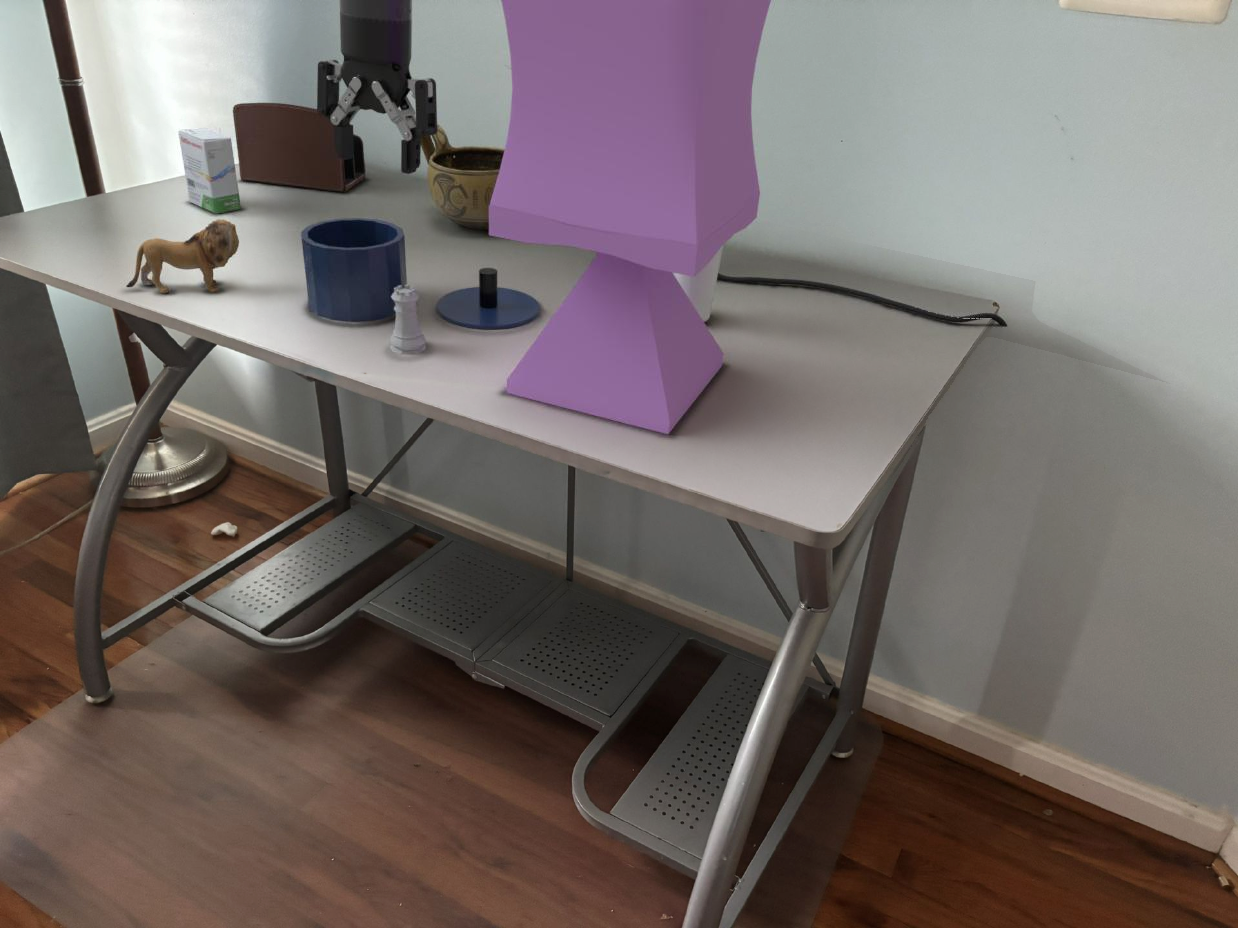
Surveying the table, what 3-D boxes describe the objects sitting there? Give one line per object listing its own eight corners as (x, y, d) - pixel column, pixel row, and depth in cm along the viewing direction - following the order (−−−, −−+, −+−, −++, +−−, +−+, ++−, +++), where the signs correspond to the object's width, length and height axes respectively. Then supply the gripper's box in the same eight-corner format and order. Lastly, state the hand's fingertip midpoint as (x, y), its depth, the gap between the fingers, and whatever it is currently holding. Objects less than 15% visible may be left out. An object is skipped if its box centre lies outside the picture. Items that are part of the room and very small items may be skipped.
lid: (546, 299, 134) (547, 258, 131) (530, 338, 122) (531, 294, 119) (450, 290, 135) (449, 249, 131) (425, 328, 123) (423, 284, 120)
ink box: (242, 209, 159) (232, 136, 153) (214, 215, 156) (203, 140, 150) (216, 197, 164) (205, 126, 158) (188, 202, 160) (176, 129, 154)
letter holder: (345, 193, 170) (338, 110, 163) (239, 181, 172) (228, 99, 165) (366, 179, 179) (361, 100, 171) (266, 168, 181) (256, 89, 174)
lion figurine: (244, 277, 134) (235, 213, 129) (246, 291, 129) (236, 225, 125) (128, 284, 129) (114, 218, 124) (125, 299, 125) (111, 231, 120)
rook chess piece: (418, 361, 115) (415, 298, 110) (383, 355, 115) (379, 292, 111) (432, 346, 118) (429, 284, 114) (398, 341, 119) (394, 280, 115)
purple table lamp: (573, 326, 126) (589, -62, 103) (736, 363, 120) (793, -43, 96) (489, 395, 108) (486, -57, 85) (675, 443, 102) (727, -33, 78)
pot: (418, 294, 133) (415, 223, 127) (391, 329, 122) (387, 253, 117) (328, 285, 133) (321, 214, 128) (294, 320, 122) (285, 244, 117)
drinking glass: (681, 330, 128) (693, 219, 120) (656, 311, 133) (666, 204, 125) (724, 323, 131) (738, 215, 123) (698, 305, 136) (710, 200, 128)
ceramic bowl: (563, 223, 163) (566, 133, 156) (512, 251, 150) (513, 153, 142) (452, 200, 171) (449, 112, 163) (394, 224, 157) (388, 130, 150)
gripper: (452, 21, 104) (447, 172, 112) (340, 1, 108) (344, 149, 116) (414, 24, 98) (412, 183, 106) (298, 3, 102) (304, 159, 110)
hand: (376, 165), depth 111 cm, fingers open, 8 cm apart
